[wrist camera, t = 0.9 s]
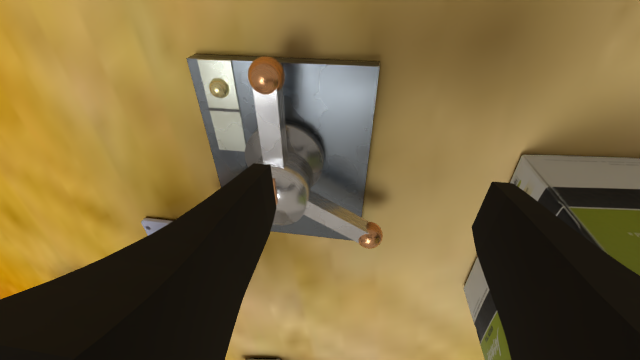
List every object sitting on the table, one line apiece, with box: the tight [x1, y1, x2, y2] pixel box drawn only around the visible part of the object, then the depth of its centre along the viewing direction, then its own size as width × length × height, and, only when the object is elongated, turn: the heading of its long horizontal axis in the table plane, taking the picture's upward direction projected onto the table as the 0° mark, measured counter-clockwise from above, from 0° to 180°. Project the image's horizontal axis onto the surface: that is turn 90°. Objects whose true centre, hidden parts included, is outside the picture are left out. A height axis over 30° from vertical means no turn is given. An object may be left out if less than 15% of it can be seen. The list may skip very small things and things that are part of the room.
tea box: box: [464, 155, 640, 360], centre depth 16 cm, size 15×10×15 cm, turn 3°
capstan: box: [245, 56, 383, 249], centre depth 18 cm, size 12×14×4 cm
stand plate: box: [187, 54, 380, 241], centre depth 20 cm, size 14×11×2 cm
